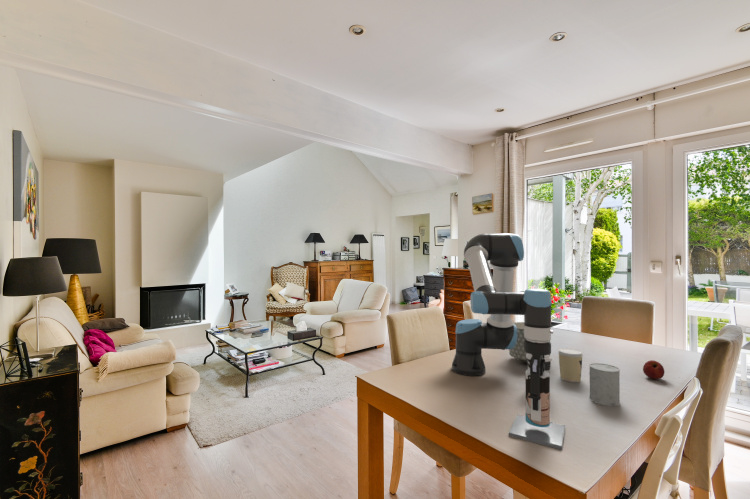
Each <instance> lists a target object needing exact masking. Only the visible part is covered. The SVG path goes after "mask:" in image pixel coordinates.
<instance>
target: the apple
mask: <svg viewBox="0 0 750 499" xmlns="http://www.w3.org/2000/svg"><path fill="white" fill-rule="evenodd" d="M642 372H643V374H644V375H645V376H646V377H647V378H649V379H651V380H660V379H662V378H663V377H664V376H665V369H664V366H663V365H662V364H661V363H660V362H659V361H656V360H648V361H646V362H645V363H644V364H643V366H642Z"/></svg>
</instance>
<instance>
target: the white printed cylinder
mask: <svg viewBox="0 0 750 499" xmlns="http://www.w3.org/2000/svg"><path fill="white" fill-rule="evenodd" d="M550 376H551V375H550V373H548V372H546V371H544V372H543V375H542V376H541V389H540V397H541V422H539V421H535V420H531V398H528V396H530V369H528V368H527V369H526V370H525V416H526V422H527V423H529V424H530V425H533V426H536V427H548V426H549V425H550V422H551V419H550V417H551V416H550V414H551V405H550V404H551V403H550V402H551V396H550V395H551V394H550V393H551V392H550V390H551V387H550V386H551V385H550V384H551V383H550V382H551V381H550V380H551V378H550Z"/></svg>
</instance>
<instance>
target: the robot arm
mask: <svg viewBox="0 0 750 499" xmlns="http://www.w3.org/2000/svg"><path fill="white" fill-rule="evenodd" d="M524 257H525V249H524V244H523V240H522V238H521V236H520V235H519V234H517V233H508V232H507V233H505V232H504V233H481V234H477V235H475V236H474V237H472V238H471V239H470V240H469V241H467V243H466V244H465V246H464V249H463V258H464V260H465V262H466V264H467V265H468V269H469V274H470V277H471V282H472V287H473V291H472V292H471V293H470V299H469V300H470V302H469V303H470V310H471V312H472V313H474V314H480V315H481V314H482V315H490V316H489V317H487V318H486V322H483V321H482V320H481V319H479V318H478V319H477V318H468V319H462V320H459V321H457V323H456V325H455V331H454V332H455V355H454V356H453V357H454V358H453V360H452V364H451V370H452V372H454V373H456V374H459V375H463V376H470V377H471V376H475V377H476V376H482V375H484V374H486V365H485V362H484V359H483V356H482V349H485V350H502V351H505V350H509V349H512V348H514V347H515V345H516V342H517V327H516V325H515V324H514V321H513V319H512V318H511V317H512V316H513V315H515V316H523V322H524V337H525V338H526V339H525V340H524V351H525V352H527V353H529V354H531V355H532V357H531V359H530V396H528V398H531V420H535V421H539V422H541V397H540V389H541V376H542V375H543V372H544V370H545V359H544V358H545V356H546V355H550V356H551V354H552V342H551V340H552V335H553V334H554V330H552V295H551V292H550V291H549V289H544V288H543V289H542V288H527V289H525V290H524V291H523V290H522V291H517V292H516V291H513V289H514V275H515V269H516V268H518V266H519V262H521V261H523V260H524ZM490 265H491V267H492V270H493V271H491V267H490Z"/></svg>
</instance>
